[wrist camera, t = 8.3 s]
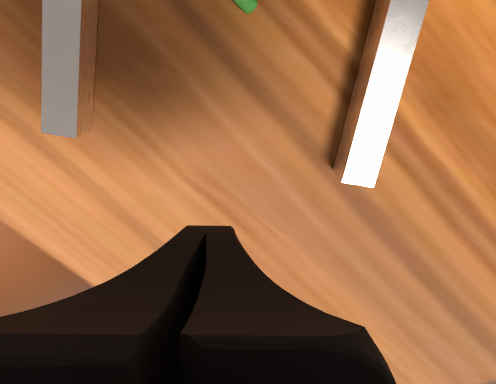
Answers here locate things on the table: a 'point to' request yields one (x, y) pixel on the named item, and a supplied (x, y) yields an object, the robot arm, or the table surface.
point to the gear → (246, 5)
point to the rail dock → (360, 109)
